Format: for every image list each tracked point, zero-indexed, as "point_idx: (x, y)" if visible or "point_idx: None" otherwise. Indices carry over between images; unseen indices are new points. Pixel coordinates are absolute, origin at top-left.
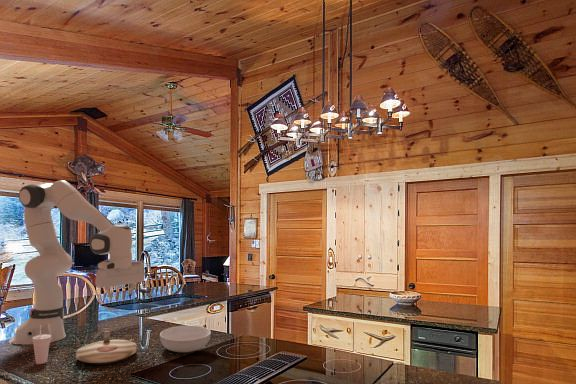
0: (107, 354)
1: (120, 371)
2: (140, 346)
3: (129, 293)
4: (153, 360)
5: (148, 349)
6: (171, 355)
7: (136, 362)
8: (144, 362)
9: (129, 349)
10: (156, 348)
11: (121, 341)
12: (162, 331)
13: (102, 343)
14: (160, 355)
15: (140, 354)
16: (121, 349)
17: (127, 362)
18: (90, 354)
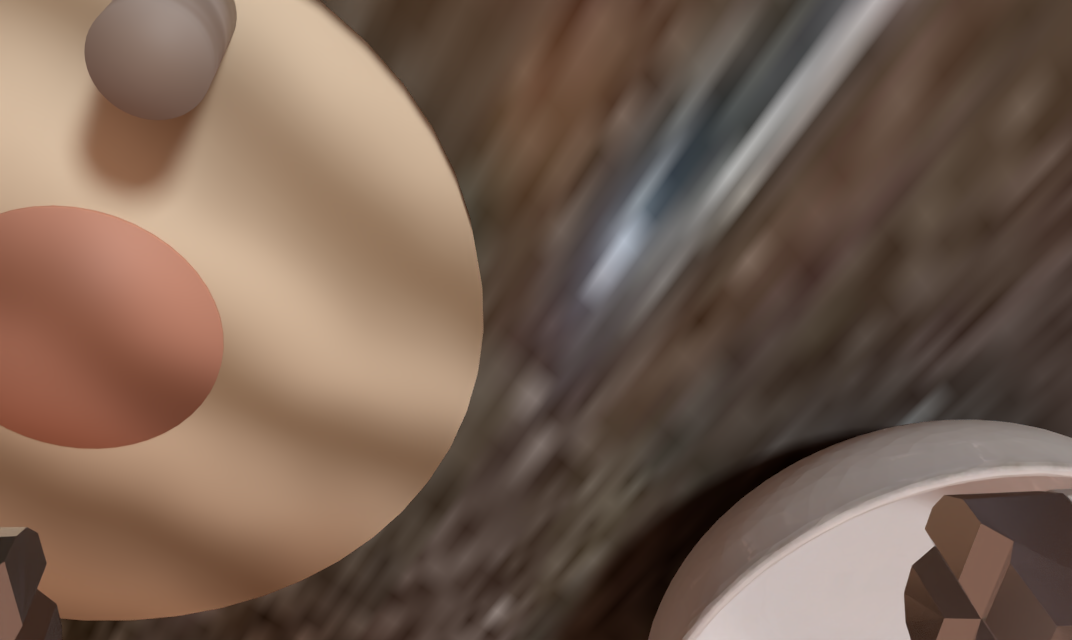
0: (16, 517)
1: None
2: (619, 201)
3: (917, 599)
4: (461, 626)
5: (615, 357)
6: (651, 620)
7: (314, 583)
8: (373, 621)
9: (304, 526)
10: (694, 386)
11: (368, 194)
12: (822, 533)
13: (85, 68)
14: (584, 567)
15: (460, 433)
16: (225, 474)
17: None
18: None
